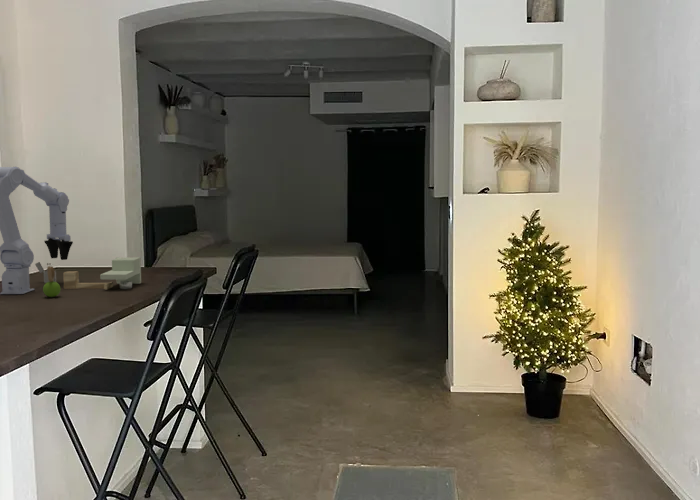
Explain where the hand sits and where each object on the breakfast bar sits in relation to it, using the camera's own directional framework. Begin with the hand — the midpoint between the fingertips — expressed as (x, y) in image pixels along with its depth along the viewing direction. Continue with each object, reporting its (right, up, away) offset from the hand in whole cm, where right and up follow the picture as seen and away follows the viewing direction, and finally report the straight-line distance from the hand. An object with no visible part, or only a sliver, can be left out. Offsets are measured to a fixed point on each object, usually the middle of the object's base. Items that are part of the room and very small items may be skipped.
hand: (59, 258), depth 243 cm
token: (+28, -11, -8) cm, 31 cm away
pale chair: (+26, -10, -5) cm, 28 cm away
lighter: (-7, -9, +5) cm, 13 cm away
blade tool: (+15, -11, -8) cm, 20 cm away
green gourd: (+11, -13, -28) cm, 33 cm away
